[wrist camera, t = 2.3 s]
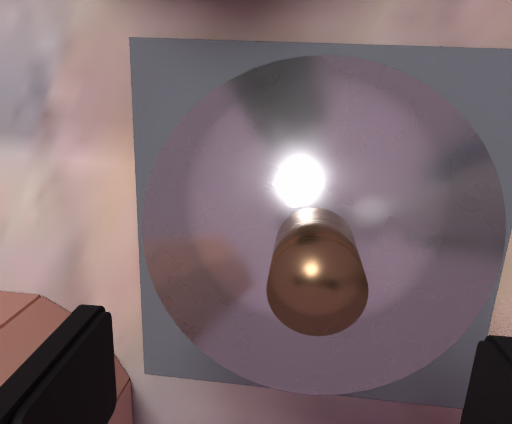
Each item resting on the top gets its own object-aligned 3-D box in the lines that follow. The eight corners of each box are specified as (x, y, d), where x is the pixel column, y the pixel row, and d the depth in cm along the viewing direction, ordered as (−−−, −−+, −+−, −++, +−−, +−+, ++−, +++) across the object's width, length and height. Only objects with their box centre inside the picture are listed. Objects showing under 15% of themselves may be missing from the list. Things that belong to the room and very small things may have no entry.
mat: (546, 50, 17) (552, 50, 16) (467, 404, 22) (470, 409, 21) (132, 38, 18) (129, 37, 18) (147, 369, 23) (144, 373, 23)
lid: (535, 62, 16) (635, 52, 11) (462, 400, 21) (511, 499, 16) (141, 50, 18) (76, 36, 13) (153, 367, 23) (109, 447, 18)
